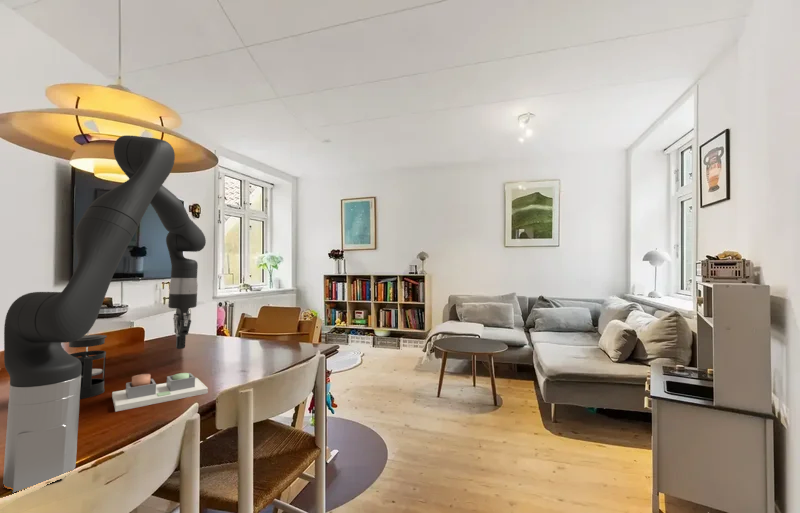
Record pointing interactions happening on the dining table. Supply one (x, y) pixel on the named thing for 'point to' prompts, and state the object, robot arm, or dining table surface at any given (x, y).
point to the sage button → (180, 376)
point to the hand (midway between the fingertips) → (180, 348)
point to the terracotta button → (141, 380)
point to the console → (157, 392)
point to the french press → (90, 365)
